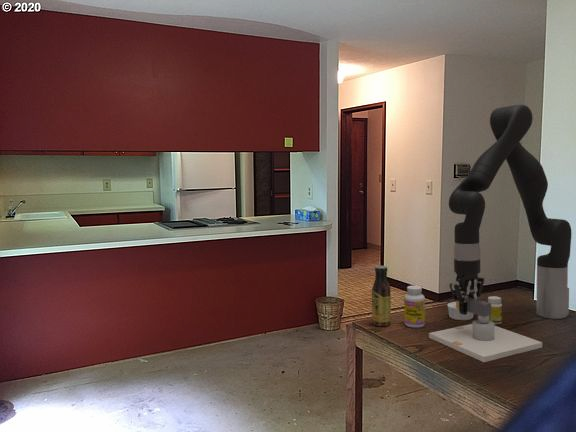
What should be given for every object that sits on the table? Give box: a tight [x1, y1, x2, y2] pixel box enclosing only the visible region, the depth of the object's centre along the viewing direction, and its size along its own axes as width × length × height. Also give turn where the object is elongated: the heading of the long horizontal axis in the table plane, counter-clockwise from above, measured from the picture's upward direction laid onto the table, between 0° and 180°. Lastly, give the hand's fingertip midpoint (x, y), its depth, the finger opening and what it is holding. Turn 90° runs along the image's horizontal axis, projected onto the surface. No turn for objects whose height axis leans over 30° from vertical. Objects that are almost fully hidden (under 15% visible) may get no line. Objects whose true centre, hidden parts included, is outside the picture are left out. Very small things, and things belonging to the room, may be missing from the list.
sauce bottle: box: [371, 265, 392, 327], centre depth 165 cm, size 7×6×20 cm
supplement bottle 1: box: [403, 285, 426, 329], centre depth 164 cm, size 7×7×13 cm
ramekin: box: [447, 301, 475, 321], centre depth 171 cm, size 9×9×4 cm
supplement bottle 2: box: [487, 295, 503, 325], centre depth 163 cm, size 5×5×8 cm
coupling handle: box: [455, 295, 491, 323], centre depth 148 cm, size 10×3×6 cm, turn 28°
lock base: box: [428, 319, 543, 363], centre depth 146 cm, size 22×22×6 cm
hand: (467, 312), depth 150 cm, fingers closed on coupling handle, 3 cm apart
